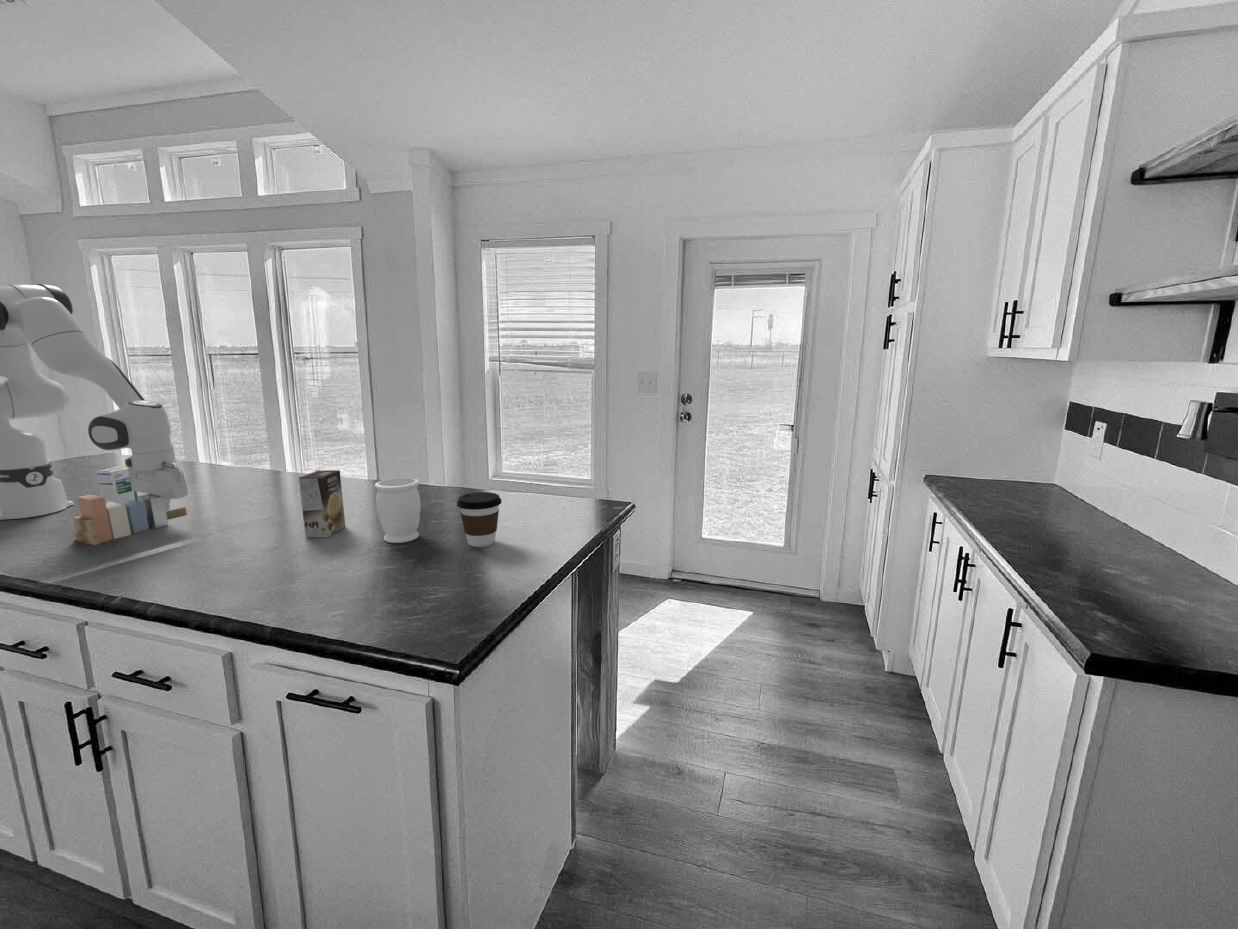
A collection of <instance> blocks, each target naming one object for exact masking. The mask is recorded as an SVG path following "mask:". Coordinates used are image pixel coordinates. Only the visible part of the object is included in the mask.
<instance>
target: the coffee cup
mask: <svg viewBox="0 0 1238 929" xmlns="http://www.w3.org/2000/svg"><path fill="white" fill-rule="evenodd" d="M501 504H502V498H501V497H500V495H499V494H498V493H495V492H490V491H488V492H487V491H480V492H478V491H477V492H470V493H466V494H462V495H461V496H459V497H458V499H457V501H456V507H458V508H459V510H460V518H461V521H462V527H463V529H464V533H465V535H466V536H465V537H466V541H467V543H468V544H469V546H471V547H474V548H483V547H484V548H485V547H488V546H489V547H490V546H491V545H493V544H494V542H495V540H496V534H497V531H498V522H499V513H500V509H499V508H500V505H501Z"/></svg>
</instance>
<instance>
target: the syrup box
mask: <svg viewBox="0 0 1238 929" xmlns="http://www.w3.org/2000/svg"><path fill="white" fill-rule="evenodd" d="M128 469H129V467H126V466H115V467H111V468H106V469H102V470H101V469H100V470H96V472H95V475H96V478H97V479H96V480H97V483H98V487H99V491H100V496H101V497H104V498H105V503H108V502H114V503H122V502H126V501H131V500H136V501H137V496H138V492H136V491H135V490H134V489H133V488H132V485H131V482H130V478H129V473H128Z"/></svg>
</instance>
